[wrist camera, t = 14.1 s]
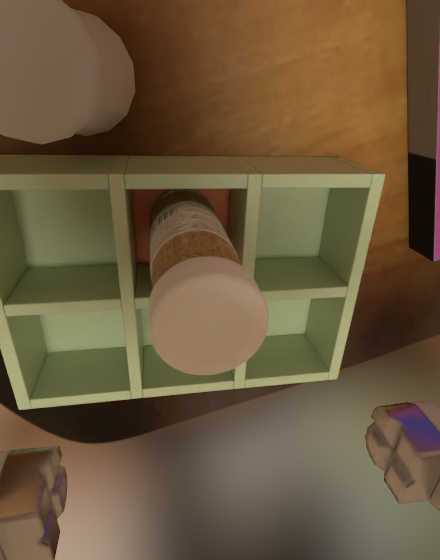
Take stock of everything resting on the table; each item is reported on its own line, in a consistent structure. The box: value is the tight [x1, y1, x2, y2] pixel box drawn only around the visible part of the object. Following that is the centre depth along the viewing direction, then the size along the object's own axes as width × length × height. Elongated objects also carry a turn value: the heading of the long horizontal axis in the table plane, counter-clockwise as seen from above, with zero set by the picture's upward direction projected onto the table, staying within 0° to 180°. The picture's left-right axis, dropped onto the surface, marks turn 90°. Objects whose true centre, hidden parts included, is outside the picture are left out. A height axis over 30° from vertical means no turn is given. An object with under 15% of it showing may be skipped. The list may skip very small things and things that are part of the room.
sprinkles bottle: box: [148, 189, 269, 375], centre depth 19 cm, size 5×5×13 cm
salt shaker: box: [0, 0, 135, 144], centre depth 16 cm, size 6×6×13 cm
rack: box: [0, 155, 385, 410], centre depth 25 cm, size 23×15×6 cm
